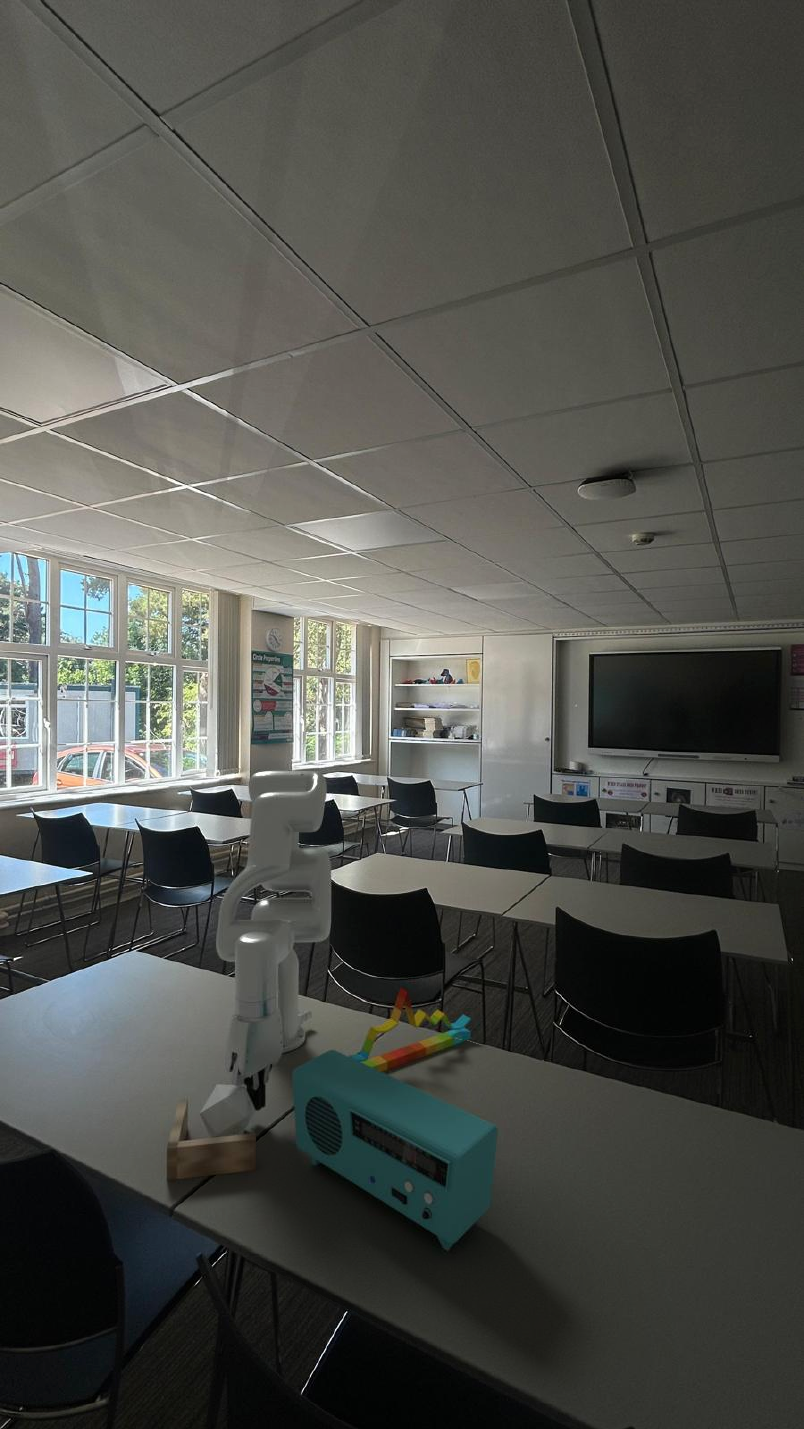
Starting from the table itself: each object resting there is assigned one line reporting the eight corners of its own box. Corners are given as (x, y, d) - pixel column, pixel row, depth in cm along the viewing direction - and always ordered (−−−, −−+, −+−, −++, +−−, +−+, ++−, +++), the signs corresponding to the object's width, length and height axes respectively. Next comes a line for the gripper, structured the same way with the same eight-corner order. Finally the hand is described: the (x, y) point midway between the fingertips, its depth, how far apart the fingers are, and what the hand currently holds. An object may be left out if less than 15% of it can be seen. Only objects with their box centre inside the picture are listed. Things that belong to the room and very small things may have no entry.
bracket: (183, 1125, 119) (183, 1096, 119) (260, 1166, 108) (260, 1135, 108) (130, 1157, 110) (130, 1127, 110) (207, 1205, 99) (207, 1172, 99)
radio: (285, 1162, 109) (286, 1070, 109) (332, 1132, 117) (332, 1046, 117) (456, 1276, 87) (457, 1161, 87) (499, 1230, 95) (500, 1124, 95)
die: (220, 1161, 110) (256, 1107, 112) (182, 1126, 113) (218, 1074, 115) (237, 1148, 118) (270, 1097, 120) (201, 1116, 120) (234, 1066, 122)
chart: (461, 1034, 154) (461, 968, 154) (470, 1039, 151) (470, 973, 151) (347, 1075, 136) (347, 1001, 136) (355, 1082, 133) (356, 1007, 133)
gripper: (271, 985, 128) (270, 1081, 128) (209, 1014, 116) (208, 1120, 116) (300, 994, 124) (300, 1093, 124) (239, 1025, 112) (238, 1135, 112)
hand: (255, 1106), depth 120 cm, fingers closed
